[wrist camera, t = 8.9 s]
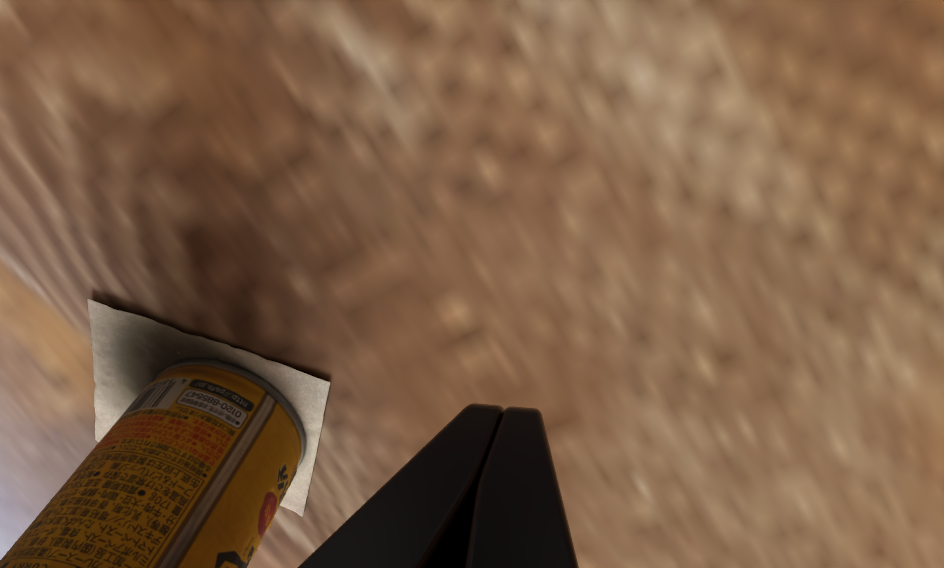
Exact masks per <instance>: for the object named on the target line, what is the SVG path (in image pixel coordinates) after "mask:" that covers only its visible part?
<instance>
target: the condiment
mask: <svg viewBox="0 0 944 568" xmlns="http://www.w3.org/2000/svg"><path fill="white" fill-rule="evenodd" d="M87 301H88V313H89V317H90V319H91V335H92V350H93V359H94V381H95V383H96V385H95V393H94V399H95V401H94V406H95V413H96V420H95V436H96V441H98V442H99V443H98V444H97V445H96V447H95V448H94V449H93V450H92V451H91V453H90V454H89V455H88V456H87V457H86V459H85V460H84V461H83V462H82V463H81V465H80V466H79V467H78V468H77V469H76V471H75V472H74V473H73V474H72V476H71V477H70V478H69V479H68V480H67V482H66V483H65V484H64V485H63V486H62V488H61V489H60V490H59V491H58V493H57V494H56V495H55V496H54V497H53V498H52V499H51V501H50V502H49V503H48V504H47V505H46V507H45V508H44V509H43V510H42V511H41V513H40V514H39V515H38V516H37V518H36V519H35V520H34V521H33V522H32V524H31V525H30V526H29V527H28V528H27V530H26V531H25V532H24V533H23V534H22V536H21V537H20V538H19V539H18V540H17V541H16V542H15V544H14V545H13V546H12V548H11V549H10V550H9V551H8V552H7V553H6V555H5V556H4V557H3V558H2V559H1V560H0V568H247V566H248V564H249V561H250V560H251V558H252V557H253V555H254V554H255V552H256V551H257V548H258V546H259V544H260V543H261V540H262V538H263V536H264V534H265V532H266V530H267V529H268V528H269V527H270V526H271V523H272V520H273V518H274V515H275V513H276V511H277V509H278V507H279V506H283V507H286V508H287V509H290V510H292V511H294V512H296V513H297V514H299V515H300V516H302V517H303V512H304V507H305V503H306V498H307V495H308V489H309V485H310V481H311V476H312V471H313V467H314V462H315V457H316V452H317V447H318V442H319V437H320V432H321V427H322V421H323V414H324V410H325V405H326V400H327V395H328V391H329V386H330V382H327V381H324V380H321V379H318V378H316V377H313V376H311V375H308V374H306V373H303V372H300V371H298V370H295V369H293V368H290V367H288V366H285V365H283V364H280V363H278V362H274V361H269V360H266V359H263V358H262V357H260V356H258V355H255V354H253V353H250V352H247V351H244V350H242V349H237V348H232V347H231V346H229V345H227V344H224V343H219V342H216V341H211V340H208V339H206V338H204V337H200V336H193V335H189V334H186V333H183V332H180V331H179V330H177V329H175V328H173V327H170V326H167V325H164V324H160V323H158V322H156V321H154V320H151V319H148V318H146V317H143V316H139V315H136V314H132V313H128V312H123V311H119V310H115V309H112V308H110V307H108V306H106V305H103V304H100V303H98V302H95V301H92V300H89V299H87ZM176 351H178V352H180V354H178V353H177V352H176Z"/></svg>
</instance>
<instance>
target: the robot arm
mask: <svg viewBox="0 0 944 568" xmlns="http://www.w3.org/2000/svg"><path fill="white" fill-rule="evenodd" d="M298 568H579V567H578V563H577V558H576V554H575V550H574V546H573V542H572V538H571V534H570V529H569V525H568V521H567V517H566V513H565V509H564V505H563V501H562V496H561V492H560V488H559V484H558V480H557V476H556V472H555V468H554V463H553V459H552V455H551V451H550V447H549V443H548V439H547V434H546V430H545V426H544V422H543V418H542V414H541V412H540V411H539V410H538V409H535V408H523V407H508V408H506V409H505V410H504V409H503V408H502V407H501V406H498V405H487V404H470V405H468V406H467V407H465V408H464V409H463V410H462V411H461V412H460V413H459V414H458V415H457V416H456V417H455V418H454V419H453V420H452V421H451V422H450V423H449V424H447V425H446V426H445V427H444V428H443V429H442V430H441V431H440V432H439V433H438V434H437V435H436V436H435V437H434V438H433V439H432V440H431V441H430V442H429V443H428V444H427V445H425V446H424V447H423V448H422V449H421V450H420V451H419V452H418V453H417V454H416V455H415V456H414V457H413V458H412V459H411V460H410V461H409V462H408V463H407V464H406V465H405V466H404V467H402V468H401V469H400V470H399V471H398V472H397V473H396V474H395V475H394V476H393V477H392V478H391V479H390V480H389V481H388V482H387V483H386V484H385V485H384V486H383V487H382V488H380V489H379V490H378V491H377V492H376V493H375V494H374V495H373V496H372V497H371V498H370V499H369V500H368V501H367V502H366V503H365V504H364V505H363V506H362V507H361V508H360V509H359V510H357V511H356V512H355V513H354V514H353V515H352V516H351V517H350V518H349V519H348V520H347V521H346V522H345V523H344V524H343V525H342V526H341V527H340V528H339V529H338V530H337V531H335V532H334V533H333V534H332V535H331V536H330V537H329V538H328V539H327V540H326V541H325V542H324V543H323V544H322V545H321V546H320V547H319V548H318V549H317V550H316V551H315V552H314V553H312V554H311V555H310V556H309V557H308V558H307V559H306V560H305V561H304V562H303V563H302V564H301V565H300V566H299V567H298Z"/></svg>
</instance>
